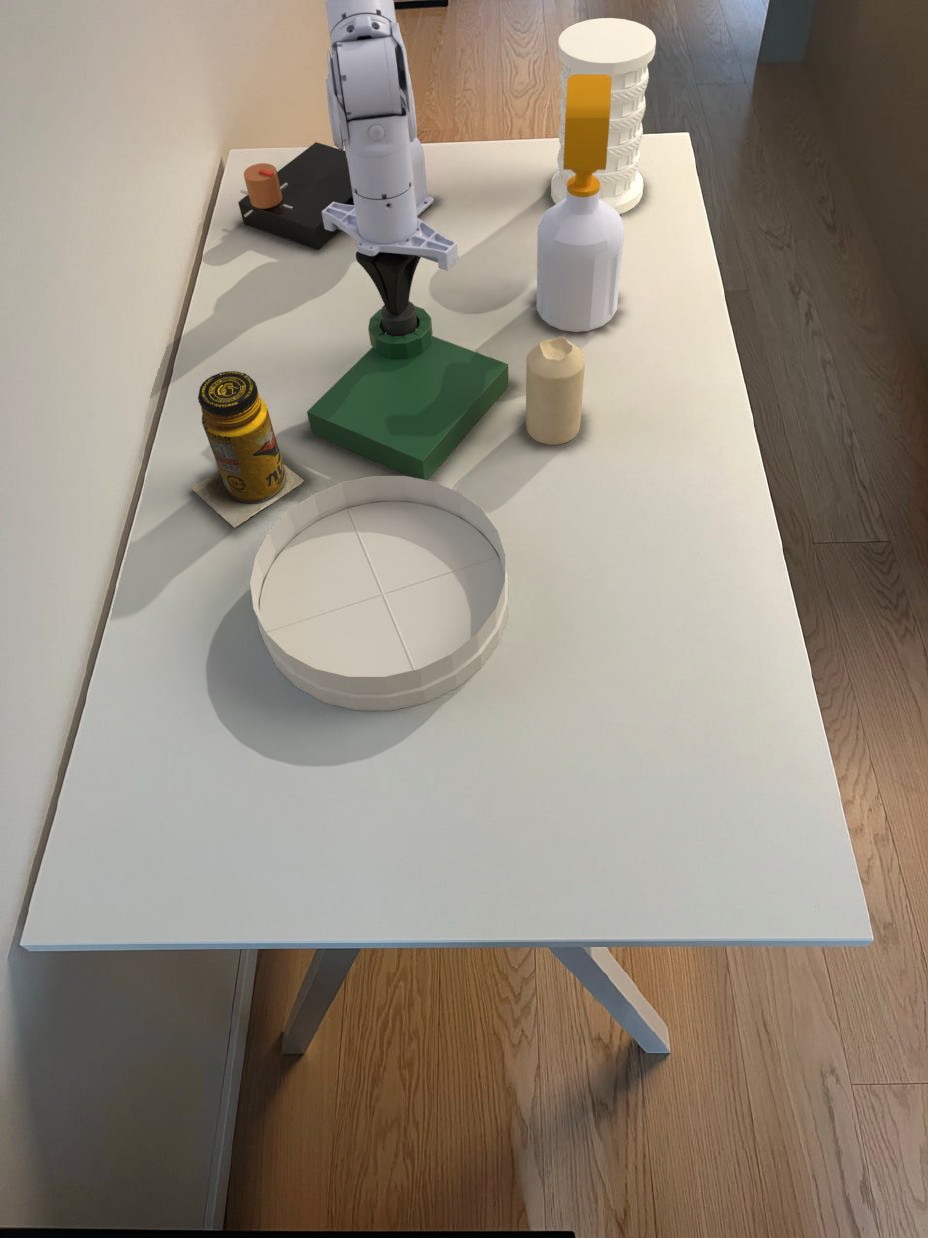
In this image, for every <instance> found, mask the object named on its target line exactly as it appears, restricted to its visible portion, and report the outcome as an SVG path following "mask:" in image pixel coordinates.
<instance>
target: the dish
mask: <svg viewBox="0 0 928 1238" xmlns="http://www.w3.org/2000/svg"><path fill="white" fill-rule="evenodd" d="M250 576H251V577H250V582H249V584H250V585H249V586H250V593H251V600H252V609H253V611H254V613H255V616H256V618H257V625H258V631H259V632H260V635H261V638H262V640H263V643H264V645H265V647H266V649H267V651H268V652H269V655H270V657H271V659H272V661H273V664H274V665H275V667H276V668H277V669H278V671H279V672H281V673H282V674H283V676H285V677H286V678H287V680H289V681H290V683H292V684H293V685H294V686H295V687H296V688H297V689H299V690H300V691H302V692H304V693H306V694H308V695H309V696H311V697H313V698H315V699H317V700H319V701H320V702H323V703H325V704H329V705H333V706H337V707H341V708H345V709H349V710H352V711H353V710H354V711H375V712H376V711H377V712H378V711H379V712H380V711H383V712H385V711H387V712H390V711H392V712H393V711H396V710H400V709H405V708H410V707H413V706H414V707H415V706H418V705H423V704H426V703H427V704H428V702H431V701H433V700H435V699H437V698H439V697H441V696H444V694H448V693H450V692H452V691H453V690H456V689H457V688H459V687H460V686H461V685H462V684H464V683H465V682H466V681H467V680H468V679H470V678H471V677H472V676H473V675H474V674H476V673H477V672H478V671H479V670H480V669H482V668H483V666H484V665H485V663H486V662H487V661H488V659H489V657H490V656H491V655H492V654H493V652H494V651H495V649H496V648H497V646H498V645H499V644H500V642H501V638H502V635H503V632H504V629H505V627H506V624H507V620H508V617H509V574H508V571H507V568H506V553H505V549H504V546H503V543H502V540H501V537H500V534H499V531H498V529H497V528H496V527H495V525H494V524H493V523H492V521H491V520H490V519H489V517H488V516H487V514H486V513H485V512H484V511H483V509H482V508H481V507H479V506H478V505H476V504H475V503H474V502H473V501H471V500H470V499H468V498H467V497H466V496H465V495H463V494H462V493H460V492H459V491H456V490H454V489H452V488H450V487H447V486H445V485H442V484H440V483H438V482H435V481H433V480H429V479H428V480H423V479H418V478H413V477H410V476H408V475H372V476H371V475H370V476H366V477H361V478H356V479H351V480H346V481H342V482H339V483H336V484H334V485H332V486H330V487H327V488H325V489H322V490H320V491H318V492H314V493H313V494H311V495H310V496H308V497H307V498H305V499H303V500H302V501H301V502H299V503H298V504H297V505H295V506H294V507H292V508H290V509H289V510H287V512H286V513H285V514H283V516H282V517H281V518H280V519H279V520H278V521H277V522H276V524H274V526H273V527H272V528H270V530H269V531H268V532H267V534H266V536H265V537H264V540H263V541H262V543H261V545H260V547H259V549H258V551H257V553H256V555H255V556H254V562H253V566H252V572H251V575H250Z"/></svg>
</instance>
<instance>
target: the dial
mask: <svg viewBox="0 0 928 1238" xmlns="http://www.w3.org/2000/svg"><path fill="white" fill-rule="evenodd" d="M277 172H278V170H277V168H276V166H275V165H273V164H270V163H265V162H263V163H262V162H261V163H255V164H252V165H250V166H248V167H247V168H246V169H245V170H244V172H243V178H244V182H245V186H246V190H247V192H248V195H249V199H250V203H251V205H252V206H254V207H256V208H260V209H267V208H272V207H274V206H276V205H278V204H279V203H280V202H281V201H282V193H281V188H280V184H279V179H278V174H277Z"/></svg>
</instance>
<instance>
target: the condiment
mask: <svg viewBox="0 0 928 1238" xmlns="http://www.w3.org/2000/svg"><path fill="white" fill-rule="evenodd" d="M197 395H198V397H197V400H198V403H199V406H200V409H201V414H202V415H201V424H202V427H203V430H204V432H205V435H206V437H207V439H208V440H207V441H208V443H209V446H210V448H211V451H212V454H213V457H214V460H215V463H216V465H217V468H218V470H217V471H216V472H215V473H213V474H211V475H210V476H209V477H207V478H205V479H202V480H201V481H199V482H198V483H196V484H195V485H193V486H192V487H191V489H192V491H194V492H195V493H196V494H197V495H198V496H199V497H200V498H201V499H202V500H203V501H204V502H205V503H206V504H207V505H208V506H209V507H211V508H212V510H214V511H215V512H216V513H217V514H218V515H220V517H222V519H224V520H225V522H228V524H230V525H231V527H233V528H234V529H235V528H237V527H238V526H240V525H241V524H242V523H244V522H247V520H249V519H250V518H251V517H254V516H255V515H257V513H259V512H260V511H262V510H264V509H265V508H268V506H270V505H272V504H273V503H275V502H277V500H280V499H281V498H282V497H284V496H285V495H287V494H288V493H290V492H291V491H292V490H294V489H296V488H297V487H298V486H300V485H301V484H302V483H303V482H304V481H305V480H304V479H303V478H302V477H300V476H299V475H298V474H297V473H296V472H294V471H293V470H292V469H290V468H289V467H288V466H287V465H286V464H284V461H283V458H282V453H281V451H280V447H279V444H278V442H277V438H276V434H275V431H274V428H273V423H272V420H271V416H270V413H269V410H268V406H267V403H266V402H265V401H264V399H263V398H262V397H261V395H260V393H259V390H258V386H257V383H256V381H255V380H254V379H253V378H252V377H251V376H249V374H247V373H245V372H241V371H237V370H234V371H233V370H231V371H230V370H229V371H222V372H219V373H216V374H213V375H211V376H209V377H208V378H206V379H205V380H204V381H203V382H202V383H201V385H200V386H199V390H198V394H197Z"/></svg>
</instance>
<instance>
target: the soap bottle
mask: <svg viewBox="0 0 928 1238" xmlns="http://www.w3.org/2000/svg"><path fill="white" fill-rule="evenodd" d="M610 103H611V78H610V76H608V75H572V76H570V77H569V78H568V80H567V96H566V114H565V139H564V166H563V170H572V171H573V172H574V173H576V176H573V177H571V178H570V179H569V180H568V182H567V199H565V200H562V201H560V202H559V203H557V204H556V203H555V204H554V205H552V206H551V207H550V208H548V209H547V210H546V211H545V213H544V214H543V215H542V216H541V219H540V221H539V224H538V225H537V226H538V228H537V246H536V247H537V248H536V249H537V250H536V251H537V252H536V253H537V254H536V311H537V312H538V314H539V317H540V318H541V320H542V321H544V322H545V323H546V324H548V325H549V326H550V327H553V328H555V329H558V330H560V331H566V332H573V333H580V332H589V331H592V330H595V329H596V330H597V329H598V328H599V329H600V328H601V327H604V325H606V324H607V323H609V322H610V321H611V320H612V319H613V317H614V315H615V314H616V313H617V310H618V302H619V293H620V281H621V272H622V263H623V262H622V261H623V253H624V252H623V250H624V241H625V225H624V222H623V217H621V214H619V213H618V212H617V210H615V209H614V208H612V207H611V206H610V205H608V204H607V203H605V202H604V201H602V200H599V192H600V182H599V179H597V178H596V177H594V176H592V175H593V173H595V172H596V171H597V170H606V160H607V147H608V134H609V120H610Z"/></svg>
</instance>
